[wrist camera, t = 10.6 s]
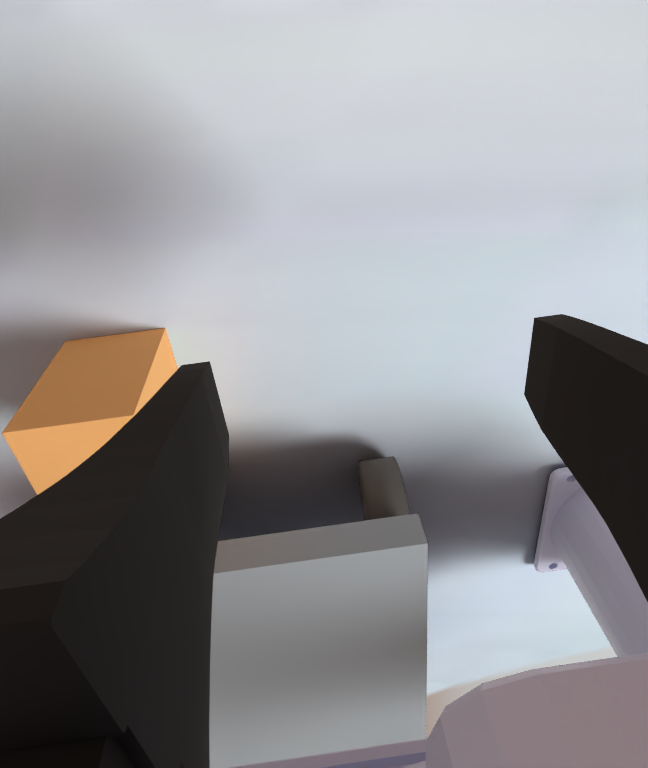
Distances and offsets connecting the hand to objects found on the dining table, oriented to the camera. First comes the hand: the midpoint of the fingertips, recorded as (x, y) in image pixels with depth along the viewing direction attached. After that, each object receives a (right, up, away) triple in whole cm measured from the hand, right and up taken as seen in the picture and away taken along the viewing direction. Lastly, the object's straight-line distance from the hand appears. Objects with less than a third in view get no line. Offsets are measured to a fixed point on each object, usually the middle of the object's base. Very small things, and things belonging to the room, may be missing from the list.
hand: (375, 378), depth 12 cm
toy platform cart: (-3, -11, +18) cm, 22 cm away
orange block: (-9, -1, +11) cm, 14 cm away
